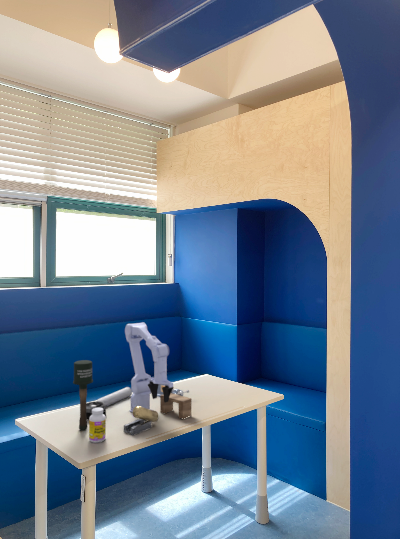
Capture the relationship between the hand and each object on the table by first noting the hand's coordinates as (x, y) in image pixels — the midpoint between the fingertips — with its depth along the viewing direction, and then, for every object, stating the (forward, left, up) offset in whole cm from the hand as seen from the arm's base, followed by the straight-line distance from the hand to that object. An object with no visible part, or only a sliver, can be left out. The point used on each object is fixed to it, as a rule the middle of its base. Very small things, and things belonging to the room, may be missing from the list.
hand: (160, 400), depth 194 cm
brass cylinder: (-1, -9, -7) cm, 11 cm away
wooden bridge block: (-2, +12, -10) cm, 16 cm away
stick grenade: (-21, -28, -11) cm, 36 cm away
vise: (-21, +30, -11) cm, 39 cm away
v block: (-2, -13, -10) cm, 16 cm away
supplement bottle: (-7, -31, -11) cm, 33 cm away
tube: (-39, +5, -11) cm, 41 cm away
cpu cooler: (-31, -14, -11) cm, 36 cm away
